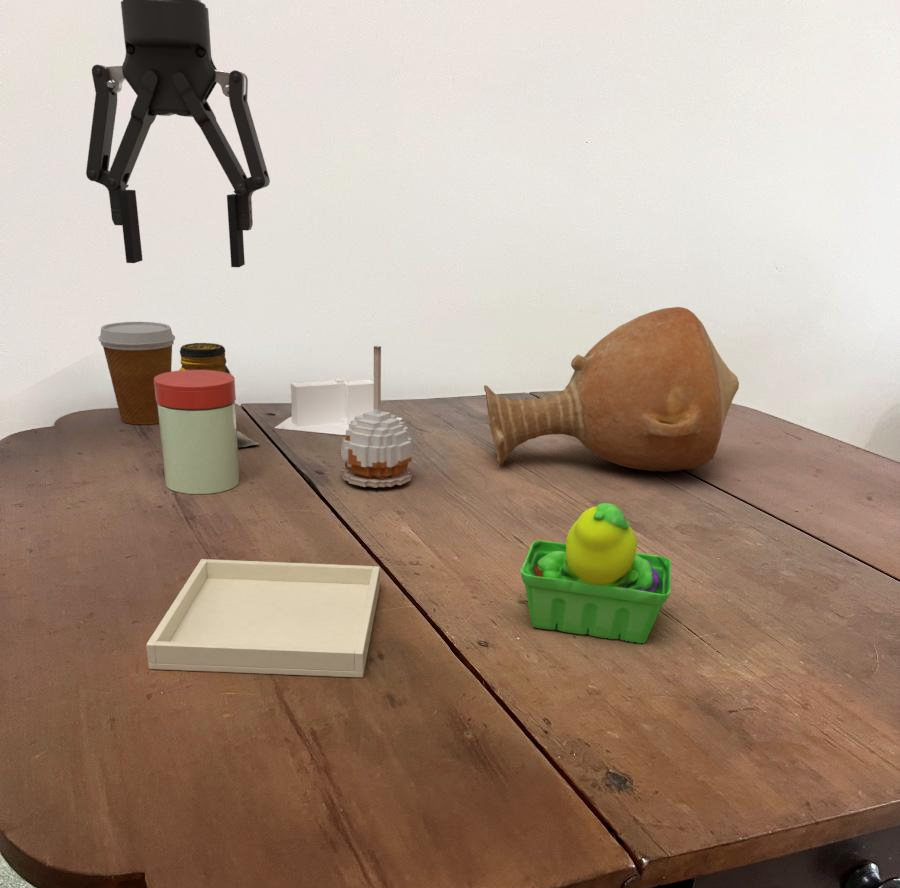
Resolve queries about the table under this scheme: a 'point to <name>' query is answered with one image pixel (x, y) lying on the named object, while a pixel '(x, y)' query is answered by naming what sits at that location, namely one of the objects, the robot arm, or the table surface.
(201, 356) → the condiment
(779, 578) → the table surface
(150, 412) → the disposable coffee cup
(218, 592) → the tray
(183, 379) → the lid
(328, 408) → the napkin holder
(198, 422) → the jar
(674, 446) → the jug
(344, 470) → the caramel apple
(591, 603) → the fruit basket
